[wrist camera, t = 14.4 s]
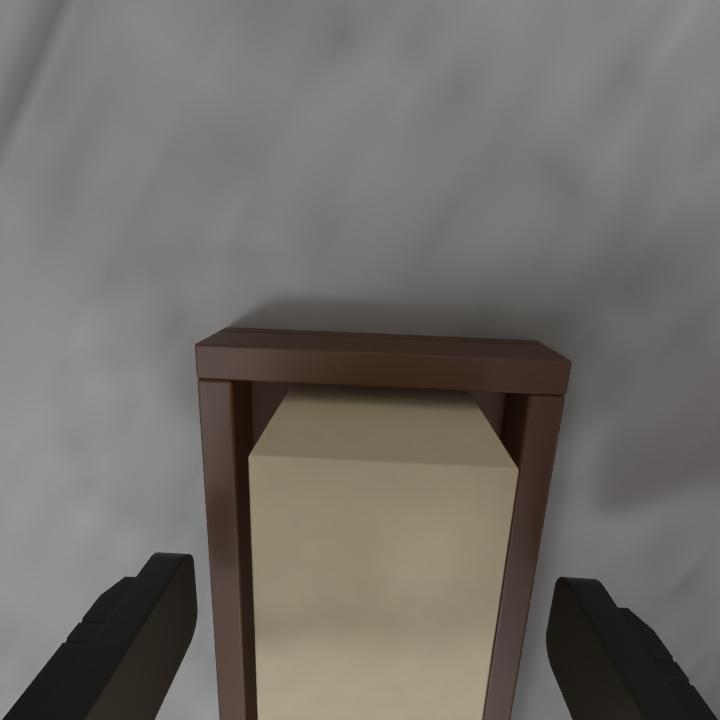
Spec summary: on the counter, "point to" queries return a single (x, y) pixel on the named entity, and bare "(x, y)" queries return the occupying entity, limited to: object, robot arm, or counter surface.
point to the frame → (377, 369)
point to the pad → (377, 553)
